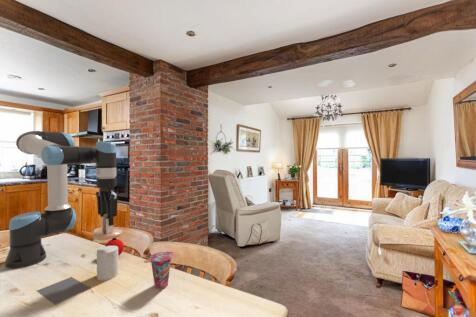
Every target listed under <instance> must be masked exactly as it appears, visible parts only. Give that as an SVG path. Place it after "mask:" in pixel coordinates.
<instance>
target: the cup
mask: <svg viewBox="0 0 476 317" xmlns="http://www.w3.org/2000/svg"><path fill="white" fill-rule="evenodd" d="M174 254H175V253H174V251H160V252H156V253H154V254H152V255H150V256H149V259H150V265H151V268H152V275H153V276H152V277H153V278H152V279H153V283H154V288H155V289H156V290H157V289H158V290H162V289H165V288H166V287H168V285H169V279H170V270H171V263H172V256H174Z"/></svg>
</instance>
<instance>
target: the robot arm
mask: <svg viewBox="0 0 476 317" xmlns="http://www.w3.org/2000/svg"><path fill="white" fill-rule="evenodd" d="M75 142H76V141H75V140H74V138H73V137H72V135H71V134H69V133H67V132H62V131H61V132H60V131H45V130H43V131H40V130H31V131H26V132H24V133H22V134H20V135H19V136H18V137H17V139H16V141H15V144H16V145H15V146H16V148H17V149H18V150H19V151H20V152H22V153H24V154H26V155H34V156H38V157H39V158H41V160H42V162H43V164H44V165H46V168H47V170H46V172H47V176H46V177H47V206H46V207H45V208H44V209H43V210H44V211H43V213H42V212H41V211H30V212H25V213H21V214H17V215H15V216H14V217H12V218H11V219H10V220H9V227H8V230H9V233H8V234H9V249H8V250H9V251H8V252H7V255H6V258H5V261H4V266H5V268H7V269H19V268H26V267H29V266H33V265H36V264H38V263H41V262H43V261H44V260H45V259H46V258H47V252H46V249H45V247H44V246H43V243H42V237H45V236H46V237H47V236H49V235H54V234H58V233H63V232H66V231H70V230H72V229H73V228H74V226H75V224H76V222H77V213H76V210H75V209H74V208H72V205H70V204H69V200H68V199H69V194H68V191H69V190H68V189H69V188H68V165H89V164H90V165H91V164H92V165H93V164H95V165H96V166H95V167H96V171H95V174H96V188H98V189H99V191H96V192H95V195H96V205H97V215H99V216H100V217H101V218H100V220H101V230H102V232H104V224H103V214H107V217H106V234H109V233H112V232H114V229H115V228H114V218H115V217H117V216H118V200H119V193H116V192H115V187H116V186H118V183H117V181H118V180H117V178H116V177H117V148H116V147H117V145H116V143H115V142H114V141H97V142H96V143H95V146H76V143H75Z"/></svg>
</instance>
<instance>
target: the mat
mask: <svg viewBox="0 0 476 317" xmlns="http://www.w3.org/2000/svg"><path fill="white" fill-rule="evenodd" d="M90 289H91V287H90V286H88V285H87V284H84V283H83V282H81V281H79V280H77V279H76V278H74V277H73V276H70V277H68V278H65V279H63V280H61V281H57V282H55V283H53V284H50V285H47V286H44V287H42V288H40V289H36V292H37V293H39V294H40V295H41V296H43V297H44V298H46V299H47V300H48V301H49V302H51V303H52V304H53V305H58V304H60V303H62V302H65V301H66V300H68V299H71V298H73V297H75V296H77V295H79V294H82V293H83V292H86V291H88V290H90Z"/></svg>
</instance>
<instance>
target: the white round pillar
mask: <svg viewBox="0 0 476 317" xmlns="http://www.w3.org/2000/svg"><path fill="white" fill-rule="evenodd" d="M119 274H120V273H119V256H118V247H117V246H106V247H105V246H102V247H99V248H98V249H97V250H96V278H97V280H98V281H109V280H112V279H115V278H116V277H117V276H118V275H119Z"/></svg>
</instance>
